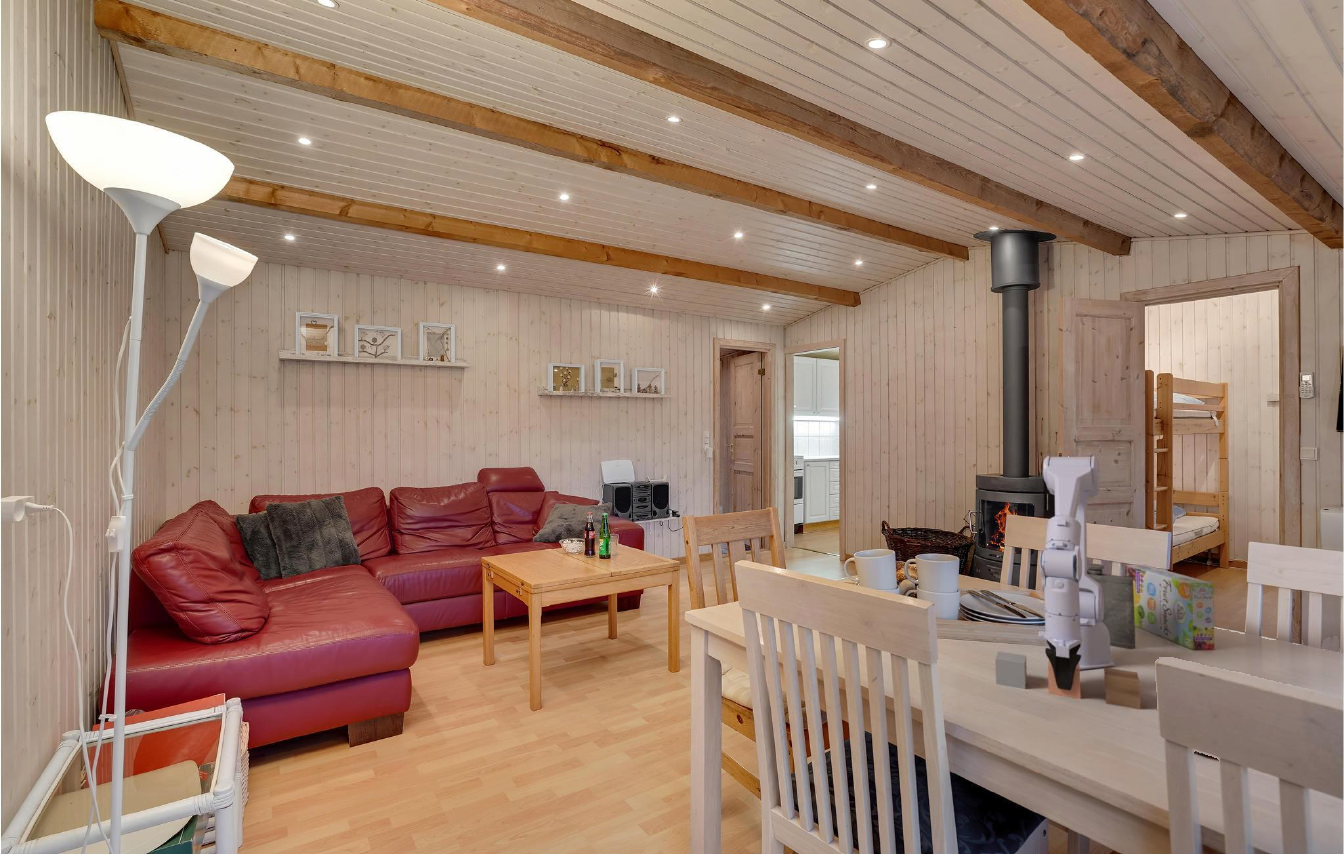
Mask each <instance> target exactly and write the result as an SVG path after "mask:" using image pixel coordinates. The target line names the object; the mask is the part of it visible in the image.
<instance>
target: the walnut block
mask: <svg viewBox="0 0 1344 854" xmlns="http://www.w3.org/2000/svg"><path fill="white" fill-rule="evenodd" d="M1103 672H1104V673H1103V675H1104V694H1105V695H1104V697H1105V704H1107V705H1114V706H1117V707H1124V708H1130V709H1136V710H1141V687H1140V686H1141V684H1140V682H1141V681H1140V677H1139V675H1138V672H1136V671H1131V670H1123V669H1119V668H1118V669H1117V668H1111V667H1103Z"/></svg>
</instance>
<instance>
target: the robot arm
mask: <svg viewBox="0 0 1344 854" xmlns="http://www.w3.org/2000/svg"><path fill="white" fill-rule="evenodd" d="M1100 472H1101V471H1100V461H1099V458H1097V457H1096V456H1095V455H1093V456H1049V455H1047V456H1046V457H1045V458H1044V460H1043V465H1042V474H1043V480H1044V482H1045V484H1046V487H1047V490H1048V491H1049V494H1050V495H1051V494H1052V496H1053V495H1054V516H1052V517H1050V518H1049V519H1048V520H1047V524H1046V525H1047V526H1046V535H1045V543H1044V550H1040V553H1039V572H1040V576H1041V577H1040V578H1041V586H1042V587H1043V595H1044V597H1043V598H1044V627H1045V628H1044V629H1045V630H1044V631H1043V630H1039V631H1038V637H1039V638H1044V639H1045V640H1046V643H1047V645H1048V647H1045V652H1044V653H1045V655H1046V657H1047V659H1048V662H1049V661H1050V663H1051V665H1052V668H1053V671H1054V676H1055V680H1056V684H1057V687H1058V688H1059V689H1064V690H1071V688H1072V684H1073V677H1074V672H1075V669H1076V666H1077V664H1078V663H1079V666H1080V670H1081V671H1082V670H1089V669H1090V670H1091V669H1098V668H1104V667H1105V668H1108V667H1114V666H1115V663H1114V662H1112V661H1111V646H1110V635H1109V631H1108V629H1107V627H1106V626H1105V624H1104V623H1102V622H1101V621H1102V620H1103V618H1104V598H1103V589H1102V587H1101V585H1100V584H1099V583H1098V582H1096V581H1095V580H1094V579H1092V578H1091V577H1090V576H1088V575H1087V570H1088V568H1087V564H1088V555H1087V554H1088V552H1087V551H1088V550H1087V549H1088V543H1087V542H1088V541H1087V539H1088V538H1087V534H1088V533H1087V532H1088V531H1087V507H1088V504H1089V501H1090V499H1091V498H1093V497H1096V496H1098V495H1099V491H1100V486H1101V485H1100V478H1101V477H1100V476H1101V473H1100ZM1079 588H1086V589H1090V590H1091V591H1084V590H1079ZM1092 591H1093V592H1092Z"/></svg>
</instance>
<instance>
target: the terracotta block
mask: <svg viewBox="0 0 1344 854" xmlns="http://www.w3.org/2000/svg"><path fill="white" fill-rule="evenodd" d="M1047 665H1048V666H1047V670H1048V671H1047V672H1048V673H1047V674H1048V694H1051V695H1056V696H1063V697H1069V698H1075V699H1079V700H1080V699H1081V673H1080V672H1081V671H1080V666H1079V663H1078V664H1077V666H1076V669H1075V672H1074V677H1073V684H1072V688H1071V690H1064V689H1059V688H1058V687H1057V684H1056V680H1055V676H1054V671H1053V668H1052V665H1051V663H1050V661H1049V660H1048V664H1047Z"/></svg>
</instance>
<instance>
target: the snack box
mask: <svg viewBox="0 0 1344 854" xmlns="http://www.w3.org/2000/svg"><path fill="white" fill-rule="evenodd" d="M1124 568H1125V569H1124V571H1125V574H1124V576H1125V577H1131V578H1133V590H1134V619H1135V627H1137V628H1139V629H1143V630H1145V631H1147V632H1149V633H1152V634H1154V635H1157V636H1159V637H1161V638H1164V639H1166V640H1169V641H1171V642H1173V643H1176V644H1179V645H1181V646H1184V647H1185V648H1188V649H1191V650H1203V651H1204V650H1207V651H1208V650H1209V651H1213V650H1215V608H1214V607H1215V602H1214V601H1215V599H1214V597H1215V596H1214V595H1215V593H1214V590H1215V589H1214V587H1215V586H1214V582H1211V581H1210V582H1209V581H1206V580H1202V579H1199V578H1195V577H1191V576H1188V575H1185V574H1179V573H1176V572H1173V571H1169V570H1164V569H1161V568H1157V567H1154V566H1152V565H1151V566H1150V565H1146V564H1125V566H1124Z"/></svg>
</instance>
